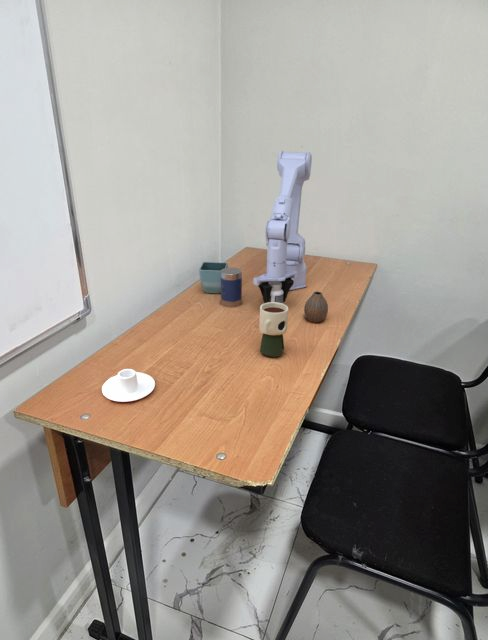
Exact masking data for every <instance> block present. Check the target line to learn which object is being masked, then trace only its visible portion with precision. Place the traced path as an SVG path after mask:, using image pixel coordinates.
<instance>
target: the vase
mask: <svg viewBox="0 0 488 640" xmlns="http://www.w3.org/2000/svg"><path fill="white" fill-rule="evenodd" d="M303 311H304V316H305V318H306V320H308V321H309V322H310V323H314V324H318V323H322V322H323V321H324V320H325V319H326V318H327V315H328V313H329V305H328V302H327V299H326V298H325V297H324V296H323V293H322V292H321V291H317V290H316V291H313V293H312V294H311V296H309V298H308V299H307V300H306V302H305V304H304V309H303Z"/></svg>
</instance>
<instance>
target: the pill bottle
mask: <svg viewBox="0 0 488 640" xmlns="http://www.w3.org/2000/svg"><path fill="white" fill-rule="evenodd" d="M269 284H270V286H271V287H272V290H271V294H270V302H278V303H282V304H284V302H283V290H282V289H281V288H282V283H281V282H278V281H274V282H269Z"/></svg>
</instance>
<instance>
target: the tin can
mask: <svg viewBox="0 0 488 640" xmlns="http://www.w3.org/2000/svg"><path fill="white" fill-rule="evenodd" d="M242 289H243V270H242V269H241V268H238V267H233V266H231V267H230V266H229V267H227V268H224V269H222V270H221V293H220V299H221V300H220V304H221V306H224V307H226V308H235V307H240V306H241V305H242V298H243V293H242V292H243V290H242Z"/></svg>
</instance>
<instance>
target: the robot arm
mask: <svg viewBox="0 0 488 640" xmlns="http://www.w3.org/2000/svg"><path fill="white" fill-rule="evenodd" d="M312 162H313V155H312V153H311V152H310V151H306V152H304V151H303V152H302V151H284V150H280V152H279V153H278V155H277V161H276V169H277V171H278V176H280V178H281V181H280V188H279V189H280V191H279V195H278V196H277V197H276V198H274V201H273V205H272V210H271V214H270V219H269V220H267V221H266V225H265V244H266V247H267V248H266V249H267V251H266V272H265V273H264V274H261V275H258V276H256V277H253V278H252V279H253V281H252V283H253V285H254V286H256V287H257V286H258V289H259V290H260V294H261V296H262V300H263V304H264V303H268V302H270V294H271V290H272V287H271V286H270V284H269V282H274V281H278V282H281V283H282V288H281V289H282V290H283V303H285V302H286V299H287V296H288V294H289V292H290V291H293V290H298V289H304V288H307V285H306V279H307V264H306V263H305V261H304V260H305V256H306V240H305V238H304V237H303V236H302V235H301V234H300V233H299V226H300V214H301V203H302V193H303V192H302V191H303V186H304V183H305V182H306V181H309V180H310V177H311V172H312Z"/></svg>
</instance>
